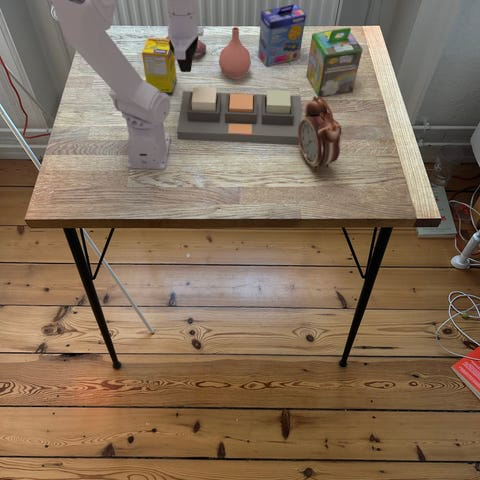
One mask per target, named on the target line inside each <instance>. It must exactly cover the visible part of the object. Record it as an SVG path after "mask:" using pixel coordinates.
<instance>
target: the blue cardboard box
mask: <svg viewBox="0 0 480 480" xmlns="http://www.w3.org/2000/svg"><path fill="white" fill-rule="evenodd" d="M306 18H307V14H306V13H305V11H304V10H303V9H302V8H301V7H300V6H299V5H298V4H297V3H291V4H288V5H284V6H283V5H282V6H281V7H273V8H269V9H265V10H261V12H260V24H259V26H260V27H259V37H258V38H259V40H258V41H259V42H258V51H257V53H258V54H257V55H258V57H259V59H260V60H261V62H262V63H263V65H264V66H265V67H270V66H274V65H278V64H282V63H286V62H287V63H288V62H290V61H295V60H299V59H300V56H301V55H300V54H301V49H302V43H303V42H302V41H303V36H304V30H305V25H306Z"/></svg>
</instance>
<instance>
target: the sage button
mask: <svg viewBox="0 0 480 480" xmlns="http://www.w3.org/2000/svg"><path fill="white" fill-rule="evenodd" d="M266 95H267V97H266V113H269V114H290V107H291V104H290V96H291V91H290V90H267V89H266Z"/></svg>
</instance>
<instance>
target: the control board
mask: <svg viewBox="0 0 480 480" xmlns="http://www.w3.org/2000/svg"><path fill="white" fill-rule="evenodd" d="M230 94H240V93H239V92H238V93H237V92H217V102H216V111H196V110H192V96H193V91H188V90H187V91H186V90H183V91H182V97H181V103H180V104H181V105H180V110H179V116H178V122H177V127H176V128H177V129H176V138H177V140H189V141H190V140H193V141H195V140H196V141H216V142H219V141H220V142H222V141H223V142H238V143H240V142H241V143H243V142H245V143H266V144H267V143H268V144H289V145H290V144H294V145H295V144H296V145H300V144H299V139H298V127H299V122H300V119H301V117H302V116H303V114H302V101H301V100H302V99H301V96H300V95H290V104H291V107H290V114H269V113H266V97H267V94H259V93H249V94H250V95H253V111H252V113H244V112H229V105H230Z"/></svg>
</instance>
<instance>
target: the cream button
mask: <svg viewBox="0 0 480 480" xmlns="http://www.w3.org/2000/svg"><path fill="white" fill-rule="evenodd" d="M217 90H218V89H217V88H216V87H195V86H194V87H193V89H192V92H193V96H192V110H196V111H216V102H217V93H218V91H217Z"/></svg>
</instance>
